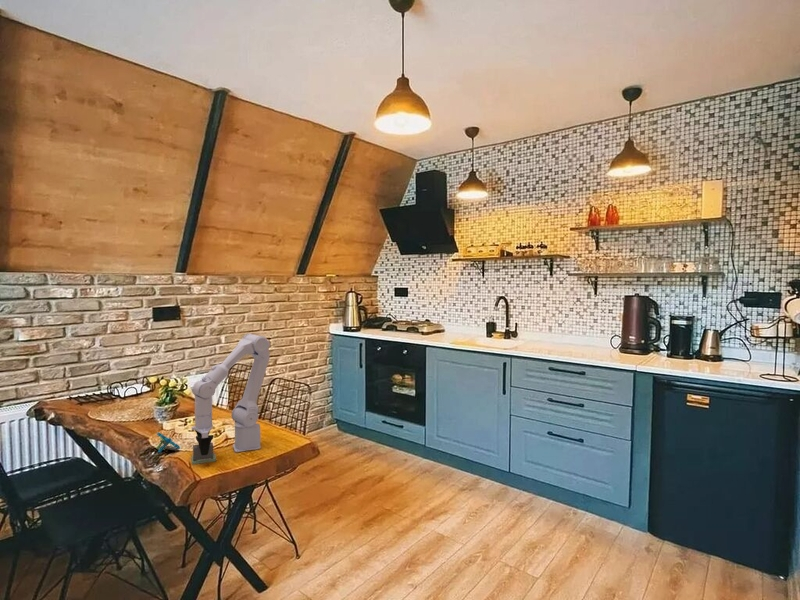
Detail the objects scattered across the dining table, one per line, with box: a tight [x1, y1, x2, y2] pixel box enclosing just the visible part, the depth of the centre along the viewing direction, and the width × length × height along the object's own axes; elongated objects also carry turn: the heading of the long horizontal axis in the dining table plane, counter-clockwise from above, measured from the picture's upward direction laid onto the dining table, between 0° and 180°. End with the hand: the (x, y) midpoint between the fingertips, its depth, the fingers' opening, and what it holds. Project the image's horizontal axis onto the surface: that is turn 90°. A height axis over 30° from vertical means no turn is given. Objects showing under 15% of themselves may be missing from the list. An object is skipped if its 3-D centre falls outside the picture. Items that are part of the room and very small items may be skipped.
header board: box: [190, 452, 217, 466], centre depth 167 cm, size 8×6×3 cm
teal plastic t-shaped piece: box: [156, 432, 181, 453], centre depth 174 cm, size 11×6×10 cm
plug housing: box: [192, 441, 214, 461], centre depth 167 cm, size 7×4×4 cm, turn 116°
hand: (203, 450), depth 167 cm, fingers open, 7 cm apart
